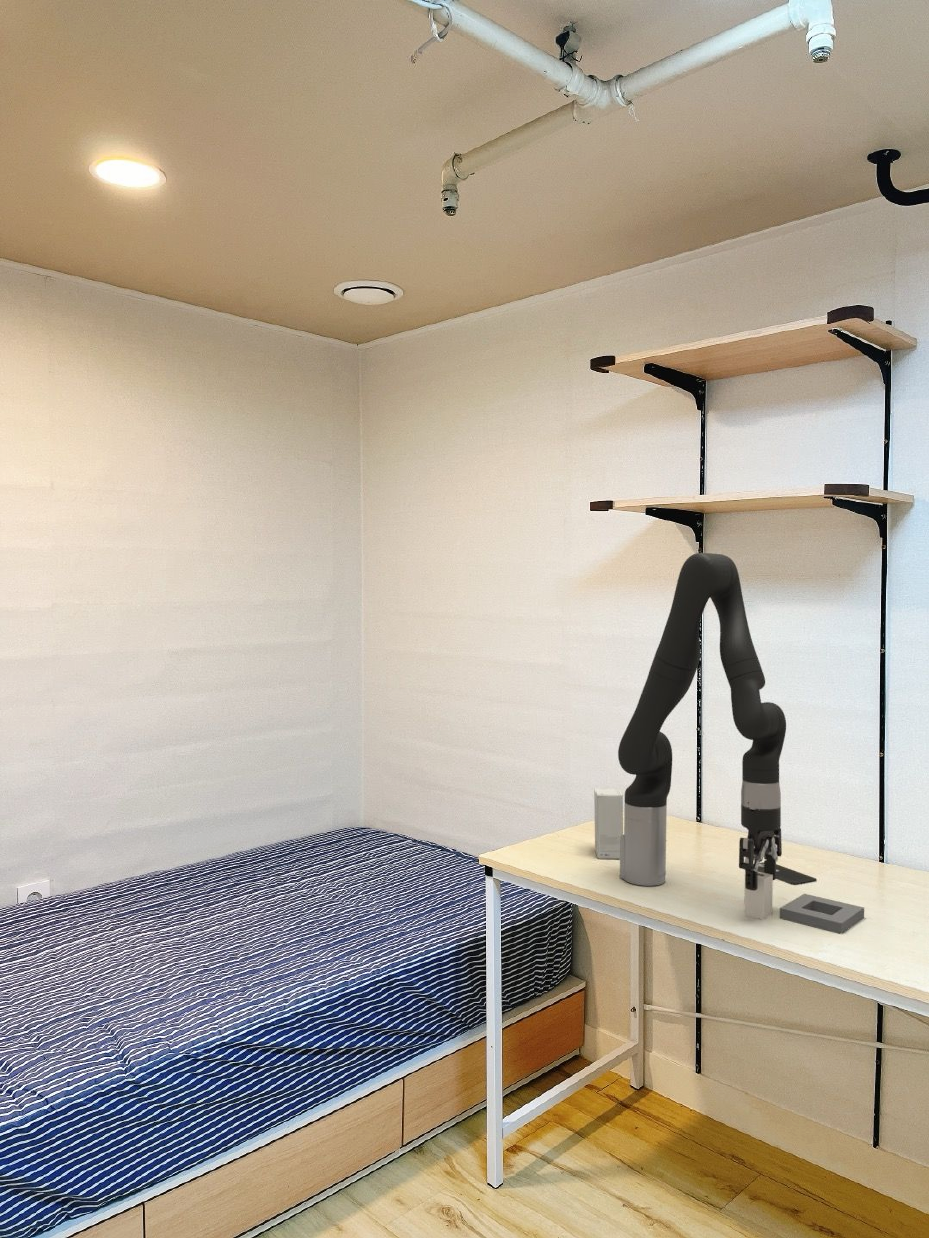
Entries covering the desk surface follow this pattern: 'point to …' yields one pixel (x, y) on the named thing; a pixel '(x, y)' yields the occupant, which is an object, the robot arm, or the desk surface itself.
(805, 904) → the socket plate
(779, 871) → the smartphone
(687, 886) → the desk surface
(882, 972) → the desk surface
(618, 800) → the skincare box
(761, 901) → the charger
